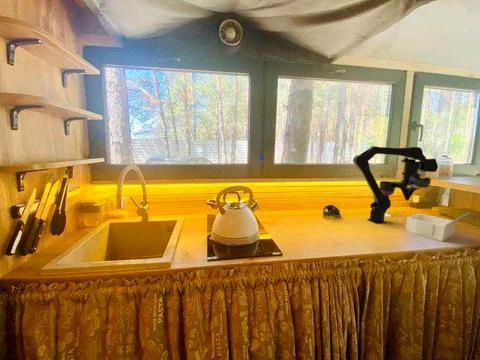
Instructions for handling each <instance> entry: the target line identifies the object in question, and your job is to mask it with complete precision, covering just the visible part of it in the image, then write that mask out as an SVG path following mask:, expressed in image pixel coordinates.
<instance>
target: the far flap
mask: <svg viewBox="0 0 480 360" xmlns="http://www.w3.org/2000/svg"><path fill="white" fill-rule="evenodd" d="M469 214H470V212H468V211H467V212H466V213H464V214H462V215H461V216H459V217H457V218H455V219H454V220H453V221H452V222H450V223H448V224H447V225H445V226H448V225H450V224H452V223H454V222H455V223H456V222H457V221H459V220H461V219H463V218H464V217H466V216H467V215H469Z"/></svg>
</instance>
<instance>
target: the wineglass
mask: <svg viewBox="0 0 480 360" xmlns="http://www.w3.org/2000/svg"><path fill="white" fill-rule="evenodd" d="M391 182H392V181H388V180H381V181H379V188H380V190H381V192H382V193H385V194H387V195H388V197H389V196H392V195H393V194H394V193H395V191H396V188H395V187H391V186H390V184H391ZM385 217H392V215H391V214H390V213H385Z"/></svg>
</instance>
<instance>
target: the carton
mask: <svg viewBox="0 0 480 360" xmlns="http://www.w3.org/2000/svg"><path fill="white" fill-rule="evenodd" d="M452 221H453V220H452V219H447V218H444V217H440V216H434V215H431V214H425V213H418V212H417V213H415V214H412V215H409V216H407V219H406V224H405V229H406V232H407V233H410V234H414V235H417V236H421V237H424V238H425V237H426V238H427V239H428V238H429V239H432V240H435V241H439V242H442V243H443V242H444V241H446V240H448V239H449V238H451V237H452V236H454V232H455V231H454V230H455V226H456V222H454V223H452V224H450V225H448V226H445V225H447V224H448V223H450V222H452Z"/></svg>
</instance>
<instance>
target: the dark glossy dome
mask: <svg viewBox="0 0 480 360" xmlns="http://www.w3.org/2000/svg"><path fill="white" fill-rule="evenodd" d="M322 209H323V211H322V216H323V218H324V217H330V216H338V217H339V218H340V219H341V218H342V217H341V213H340V209H339V208H338V207H337V206H336V205H335V204H327V205H326V206H325V205H324V207H323V208H322ZM326 210H327V211H326Z"/></svg>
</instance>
